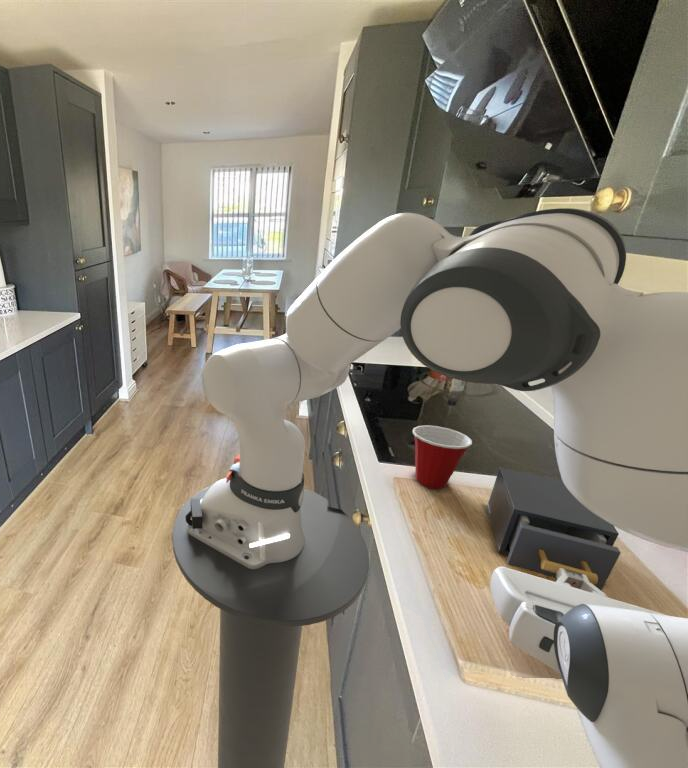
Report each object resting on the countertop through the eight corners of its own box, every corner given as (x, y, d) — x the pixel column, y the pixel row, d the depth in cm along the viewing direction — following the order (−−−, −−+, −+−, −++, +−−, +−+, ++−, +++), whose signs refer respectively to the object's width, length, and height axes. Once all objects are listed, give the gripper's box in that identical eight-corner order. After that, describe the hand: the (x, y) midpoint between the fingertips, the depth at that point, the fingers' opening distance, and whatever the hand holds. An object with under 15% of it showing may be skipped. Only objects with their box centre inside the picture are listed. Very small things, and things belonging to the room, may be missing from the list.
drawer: (611, 612, 58) (633, 572, 55) (512, 582, 63) (527, 544, 60) (574, 538, 71) (590, 502, 68) (495, 518, 76) (506, 484, 73)
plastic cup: (454, 472, 91) (466, 426, 87) (463, 500, 82) (478, 451, 78) (401, 463, 96) (410, 419, 91) (404, 488, 87) (415, 441, 82)
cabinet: (595, 580, 64) (619, 533, 60) (498, 553, 69) (514, 508, 66) (569, 527, 75) (587, 484, 71) (486, 507, 80) (499, 467, 77)
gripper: (755, 685, 41) (682, 586, 52) (508, 604, 51) (491, 535, 62) (725, 722, 44) (662, 619, 55) (495, 638, 53) (481, 565, 64)
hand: (570, 574), depth 58 cm, fingers closed, pressing on drawer
